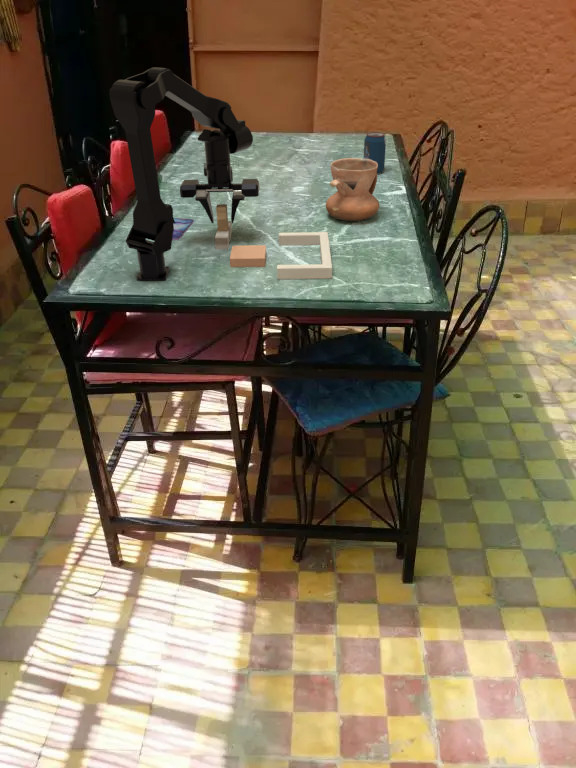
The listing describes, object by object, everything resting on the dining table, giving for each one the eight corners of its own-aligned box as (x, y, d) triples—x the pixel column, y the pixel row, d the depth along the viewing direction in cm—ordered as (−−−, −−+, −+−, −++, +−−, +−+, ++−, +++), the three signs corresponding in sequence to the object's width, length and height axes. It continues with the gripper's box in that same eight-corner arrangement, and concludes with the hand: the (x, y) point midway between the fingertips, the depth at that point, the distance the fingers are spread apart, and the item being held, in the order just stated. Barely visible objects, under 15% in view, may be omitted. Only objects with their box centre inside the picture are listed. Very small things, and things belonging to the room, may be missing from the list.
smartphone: (195, 219, 173) (178, 239, 160) (195, 222, 173) (178, 242, 161) (169, 217, 174) (150, 237, 161) (169, 220, 174) (151, 240, 162)
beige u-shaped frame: (327, 241, 158) (327, 232, 157) (331, 278, 140) (332, 267, 139) (279, 242, 158) (279, 232, 157) (277, 279, 140) (277, 268, 139)
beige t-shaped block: (228, 249, 155) (225, 213, 150) (215, 250, 156) (212, 214, 151) (231, 232, 165) (229, 198, 160) (220, 232, 165) (217, 198, 160)
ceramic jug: (350, 230, 165) (353, 175, 157) (311, 217, 173) (311, 164, 166) (394, 214, 175) (399, 161, 167) (355, 202, 184) (357, 152, 176)
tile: (265, 268, 146) (264, 258, 145) (230, 269, 146) (229, 258, 145) (266, 255, 153) (265, 245, 152) (233, 255, 153) (232, 245, 152)
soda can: (386, 170, 211) (389, 132, 204) (380, 175, 206) (382, 137, 199) (366, 168, 213) (368, 130, 207) (360, 173, 208) (361, 135, 202)
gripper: (259, 149, 156) (261, 211, 164) (183, 150, 156) (189, 212, 165) (256, 161, 146) (259, 226, 155) (176, 162, 147) (183, 227, 155)
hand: (222, 222), depth 158 cm, fingers open, 5 cm apart
